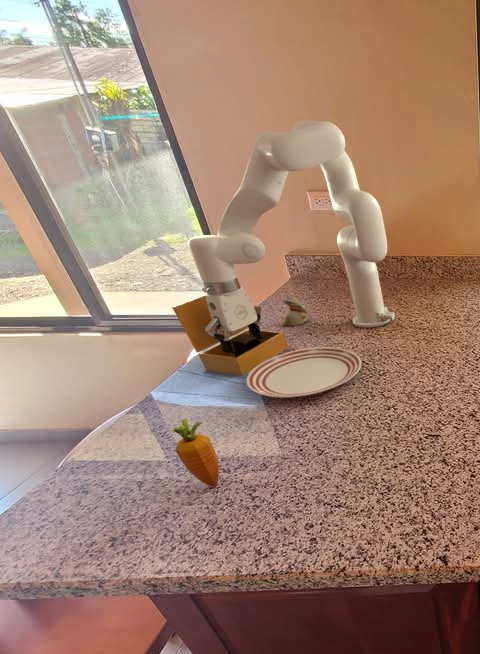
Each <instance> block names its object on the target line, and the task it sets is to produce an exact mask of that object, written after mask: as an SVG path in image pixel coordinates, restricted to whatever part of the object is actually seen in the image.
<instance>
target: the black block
mask: <svg viewBox="0 0 480 654" xmlns="http://www.w3.org/2000/svg"><path fill="white" fill-rule="evenodd" d="M231 341H232V343H233V346H234V348H235V351H236V353H234V355H235V358H237V357H238V356H240V355H242V354H244V353H245V352H247V351H249V350H251V349H253V348H254V347H256V346H258V345H260V344H261V343H260V340H259V337H258V335H250V334H241V335H239V336H237V337H235V338H233V339H231Z"/></svg>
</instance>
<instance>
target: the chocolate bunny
mask: <svg viewBox="0 0 480 654" xmlns="http://www.w3.org/2000/svg"><path fill="white" fill-rule="evenodd" d="M282 303H283V304H285V305H286V306H288V307H289V311H288V312H286V313H285V314H284V316H283V321H282V326H283V327H294V326H299V325H303V324H304V323H306V322H308V318H307V314H308V312H307V311H306V310H307V306H306V303H305V302H304V301H302V300H299V299H297V298H295V297H293V296H292V295H289V294H287V295H286V298H284V299H283V302H282Z"/></svg>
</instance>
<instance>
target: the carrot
mask: <svg viewBox="0 0 480 654" xmlns="http://www.w3.org/2000/svg"><path fill="white" fill-rule="evenodd" d="M181 424H182V425H179V427H178V426H175V427H173V430H172V431H173V432H175V434H178V435H180V437H181V439H179V440H178V441H177V443H176V446H175V453H176V454H177V456H178V457H179V459H180V461H181V462H182V464H183V466H184V467H185V468H186V469H187V470H188V472H189V473H191V475H192V476H193V477H194V478H196V480H198V481H199V482H202V484H205V485H207V486H209V487H214V488H215V487H216V486H217V485H218V483H219V477H220V465H219V460H218V456H217V452H216V451H215V448H214V445H213V443H212V441H211V439H210V438H209V437H208V436H207V435H204V434H200V433H196V431H197V428H198V427H199V426H200V425H201V424H202V422H200V421H197V422H195V423H194V424H193V425H192V427H191V428H190V427H189V422H188V420H187V418H184V419H181Z"/></svg>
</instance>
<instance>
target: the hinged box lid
mask: <svg viewBox="0 0 480 654" xmlns="http://www.w3.org/2000/svg"><path fill="white" fill-rule="evenodd" d="M206 295H207V293H205V294H204V295H201V296H198V297H195V298H193V299H190V300H188V301H185V302H182V303H180V304H176V305H175V306H172V310H173V312H174V314H175V315H176V317H177V319H178V321H179V323H180V325H181V327H182V328H183V330H184V332H185V333H186V336H187V338H188V339H189V341H190V343H191V345H192V346H193V348H194V350H195V352H196V353H201V352H203V351H205V350H207V349H209V348H211V347H213V346H215V345H217V344H219V343H220V341H219V340H217V339H215V338H213V337H211V336H210V335H209V334H208V333H207V332H206V331H205V328H206V327H207V326H208V325H209V323H210V322H211V321H212V319H211V316H210V312H209V309H208V305H207V299H206ZM247 328H248V326H246V327H244V328H241V329H239V330H237V331H235V332H230V335H229V337H231V336H233V335H235V334H237V333H239V332H241V331H243V330H245V329H247ZM215 331H216V332H217V331H218V330H217V329H216V328H215ZM224 332H225V331H223V334H222V335H223V336H224Z"/></svg>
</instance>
